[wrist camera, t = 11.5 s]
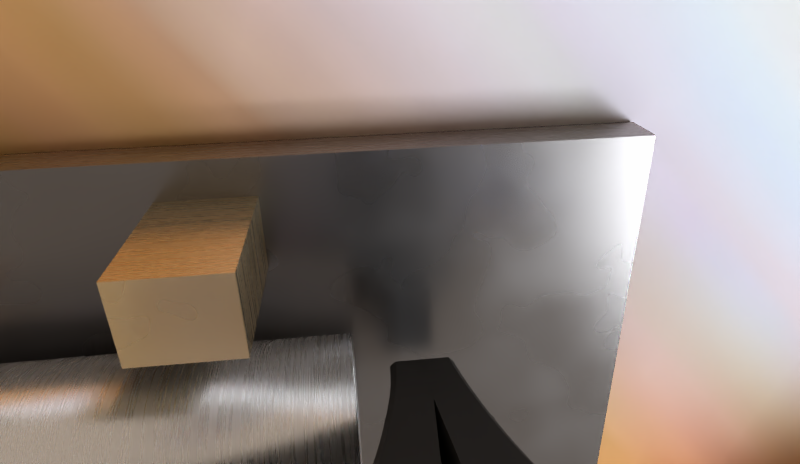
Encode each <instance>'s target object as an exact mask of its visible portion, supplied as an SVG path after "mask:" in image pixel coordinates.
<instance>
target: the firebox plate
mask: <svg viewBox="0 0 800 464" xmlns="http://www.w3.org/2000/svg"><path fill="white" fill-rule="evenodd" d="M655 138H656V135H655V134H653V133H651V132H649V131H648V130H646V129H644V128H642V127H641V126H639V125H637V124H636V123H634V122H623V123H604V124H585V125H566V126H546V127H527V128H508V129H489V130H469V131H450V132H431V133H412V134H392V135H373V136H354V137H335V138H315V139H296V140H277V141H258V142H238V143H219V144H200V145H181V146H161V147H142V148H123V149H104V150H84V151H65V152H46V153H27V154H7V155H0V364H1V363H13V362H24V361H36V360H47V359H59V358H70V357H82V356H93V355H105V354H116V353H117V354H118V357H119V360H120V364H121V367H122V369H125V368H137V367H149V366H162V365H174V364H186V363H198V362H210V361H222V360H234V359H246V358H250V354H251V349H252V345H253V342H254V341H265V340H277V339H288V338H300V337H311V336H323V335H334V334H346V333H352V337H353V347H354V358H355V370H356V383H357V396H358V409H359V423H360V438H361V453H362V464H373V462H374V459H375V456H376V453H377V449H378V446H379V443H380V439H381V436H382V431H383V427H384V422H385V418H386V414H387V409H388V403H389V396H390V388H391V380H390V366H391V365H392V364H393V363H394V362H396V361H408V360H420V359H431V358H443V357H449V358H450V359H451V360H453V361H454V363H455V365H456V366H457V368H458V370H459V371H460V373H461V374H462V376H463V377H464V379H465V380H466V382H467V383H468V385H469V386H470V387H471V389H472V390H473V392H474V393H475V394H476V396H477V397H478V398H479V400H480V401H481V402H482V404H483V405H484V406H485V408H486V409H487V410H488V411H489V413H490V414H491V415H492V416H493V418H494V419H495V420H496V421H497V423H498V424H499V425H500V426H501V427H502V429H503V430H504V431H505V432H506V433H507V435H508V436H509V437H510V438H511V439H512V440H513V441H514V443H515V444H516V445H517V446H518V447H519V448H520V449H521V450H522V451H523V452H524V454H525V455H526V456H527V457H528V458H529V459H530V460H531V461H532V462H533V463H534V464H597V461H598V456H599V450H600V444H601V439H602V433H603V428H604V422H605V417H606V411H607V405H608V400H609V394H610V389H611V383H612V378H613V372H614V366H615V361H616V355H617V350H618V344H619V339H620V333H621V328H622V322H623V316H624V311H625V305H626V300H627V294H628V289H629V283H630V277H631V272H632V266H633V261H634V255H635V250H636V244H637V238H638V233H639V227H640V222H641V216H642V211H643V205H644V199H645V194H646V188H647V183H648V177H649V172H650V166H651V160H652V155H653V149H654V144H655Z"/></svg>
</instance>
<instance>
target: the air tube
mask: <svg viewBox="0 0 800 464" xmlns="http://www.w3.org/2000/svg"><path fill="white" fill-rule="evenodd" d="M0 464H362V453H361V438H360V423H359V409H358V396H357V383H356V370H355V358H354V347H353V337H352V333H346V334H334V335H323V336H311V337H300V338H288V339H277V340H265V341H254V342H253V345H252V349H251V354H250V358H246V359H234V360H222V361H210V362H198V363H186V364H174V365H162V366H149V367H137V368H125V369H122V367H121V364H120V360H119V357H118V354H117V353H116V354H105V355H93V356H82V357H70V358H59V359H47V360H36V361H24V362H13V363H1V364H0Z"/></svg>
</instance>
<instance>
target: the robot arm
mask: <svg viewBox="0 0 800 464" xmlns="http://www.w3.org/2000/svg"><path fill="white" fill-rule="evenodd" d="M390 380H391V388H390V396H389V403H388V409H387V414H386V418H385V422H384V427H383V431H382V436H381V439H380V443H379V446H378V449H377V453H376V456H375V459H374V462H373V464H534V463H533V462H532V461H531V460H530V459H529V458H528V457H527V456H526V455H525V454H524V452H523V451H522V450H521V449H520V448H519V447H518V446H517V445H516V444H515V443H514V441H513V440H512V439H511V438H510V437H509V436H508V435H507V433H506V432H505V431H504V430H503V429H502V427H501V426H500V425H499V424H498V423H497V421H496V420H495V419H494V418H493V416H492V415H491V414H490V413H489V411H488V410H487V409H486V408H485V406H484V405H483V404H482V402H481V401H480V400H479V398H478V397H477V396H476V394H475V393H474V392H473V390H472V389H471V387H470V386H469V385H468V383H467V382H466V380H465V379H464V377H463V376H462V374H461V373H460V371H459V370H458V368H457V366H456V365H455V363H454V361H453V360H451V359H450V358H449V357H443V358H431V359H420V360H408V361H396V362H394V363H393V364H392V365H391V366H390Z"/></svg>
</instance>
